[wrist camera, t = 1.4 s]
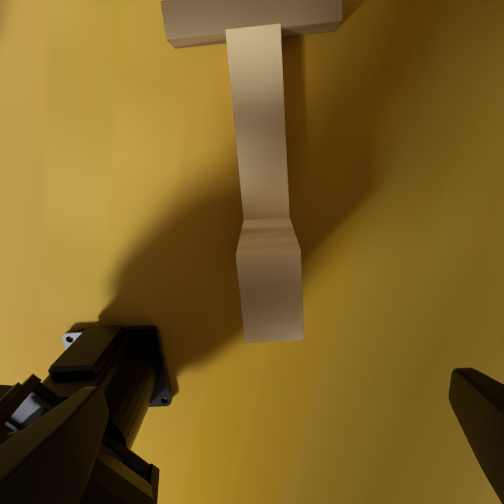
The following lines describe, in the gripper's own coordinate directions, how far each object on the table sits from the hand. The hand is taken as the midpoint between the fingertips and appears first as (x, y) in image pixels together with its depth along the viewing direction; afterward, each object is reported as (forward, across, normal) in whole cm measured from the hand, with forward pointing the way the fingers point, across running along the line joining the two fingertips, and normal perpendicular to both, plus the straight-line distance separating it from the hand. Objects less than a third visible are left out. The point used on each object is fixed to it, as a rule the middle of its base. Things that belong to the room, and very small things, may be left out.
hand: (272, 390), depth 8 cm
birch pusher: (+12, 0, -5) cm, 13 cm away
